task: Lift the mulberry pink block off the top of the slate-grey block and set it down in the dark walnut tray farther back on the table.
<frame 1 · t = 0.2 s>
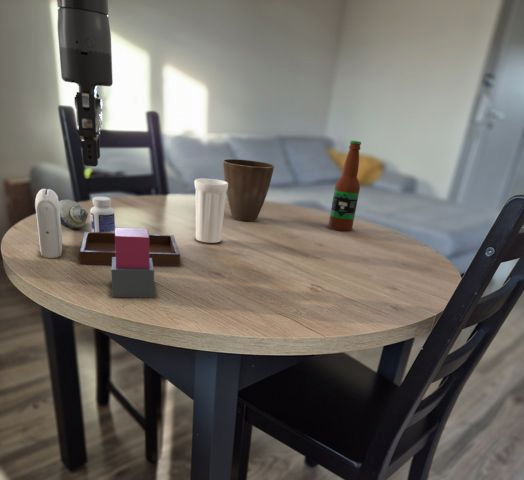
hand: (92, 161, 80), 21 cm above the table, tool pointing down, fingers open, 8 cm apart
bottle: (339, 229, 149), on the table
seashell: (70, 227, 119), on the table
grey block: (132, 290, 87), on the table, touching pink block
pink block: (132, 263, 84), point 5 cm above the table, touching grey block
cup: (208, 241, 121), on the table
tray: (130, 254, 105), on the table
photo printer: (52, 251, 101), on the table
pill bottle: (103, 237, 114), on the table
flower pot: (243, 219, 147), on the table
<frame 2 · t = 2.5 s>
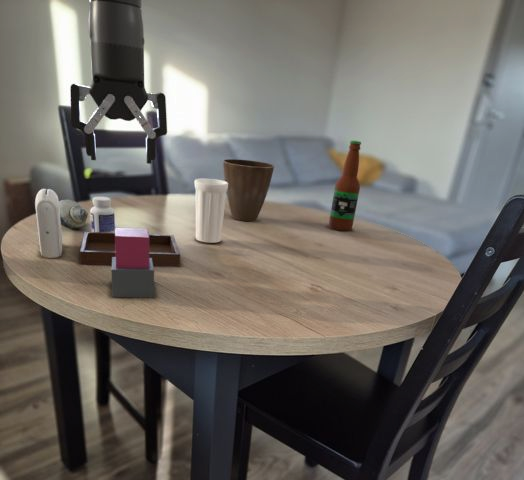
hand: (121, 161, 77), 22 cm above the table, tool pointing down, fingers open, 8 cm apart
nothing on the table moved.
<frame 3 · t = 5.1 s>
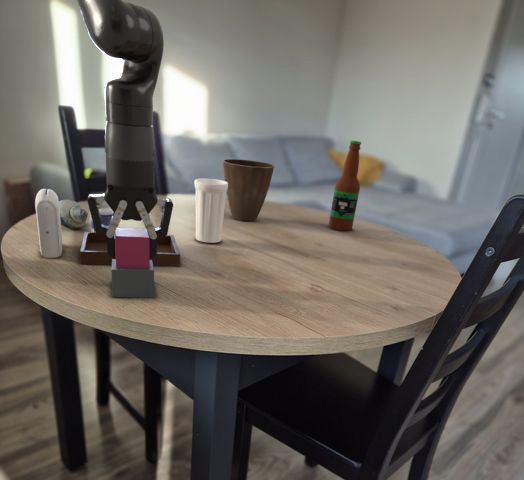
hand: (132, 257, 84), 6 cm above the table, tool pointing down, fingers closed on pink block, 5 cm apart
pink block: (132, 263, 84), point 5 cm above the table, touching grey block, gripper
everything else where it was.
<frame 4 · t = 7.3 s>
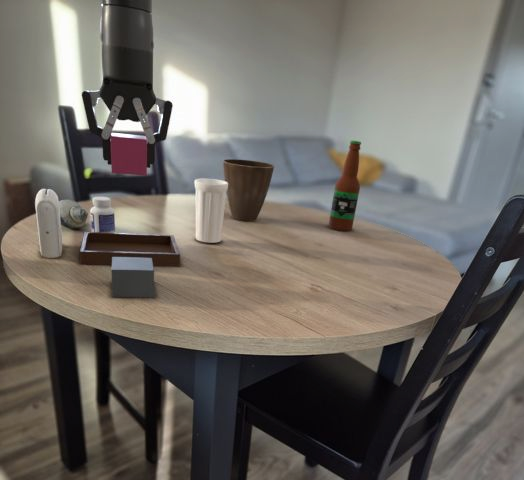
hand: (129, 165, 80), 21 cm above the table, tool pointing down, fingers closed on pink block, 5 cm apart
grey block: (132, 290, 87), on the table
pink block: (129, 171, 80), point 20 cm above the table, touching gripper
everything else where it was.
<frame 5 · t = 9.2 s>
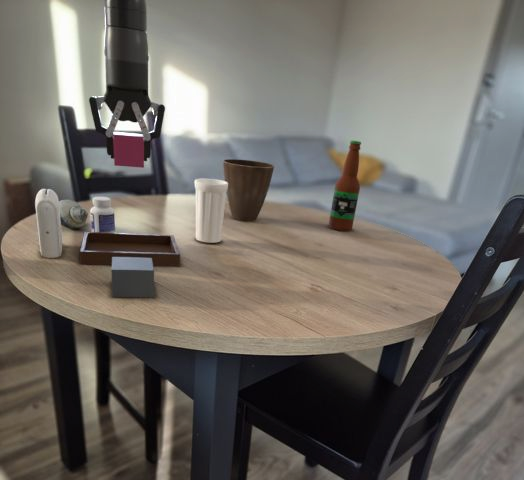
hand: (128, 159, 94), 20 cm above the table, tool pointing down, fingers closed on pink block, 5 cm apart
pink block: (129, 164, 95), point 19 cm above the table, touching gripper
everything else where it was.
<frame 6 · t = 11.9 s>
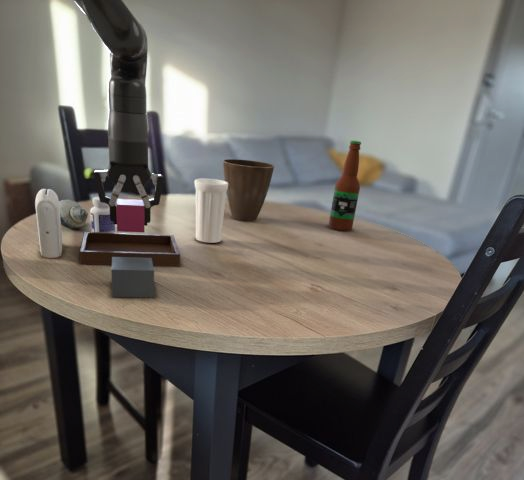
hand: (130, 223, 102), 7 cm above the table, tool pointing down, fingers closed on pink block, 5 cm apart
pink block: (130, 228, 102), point 6 cm above the table, touching gripper
everything else where it was.
when the fingers open (2 cm above the table, at t = 13.7 s): pink block stays where it is, resting on tray.
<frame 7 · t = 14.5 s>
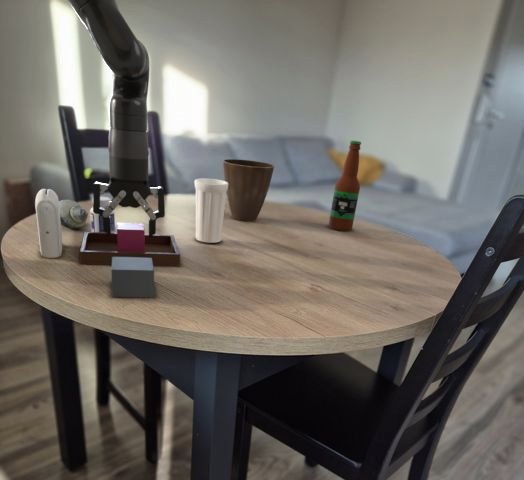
hand: (129, 235, 102), 4 cm above the table, tool pointing down, fingers open, 8 cm apart
pink block: (131, 251, 104), point 1 cm above the table, touching tray
everything else where it was.
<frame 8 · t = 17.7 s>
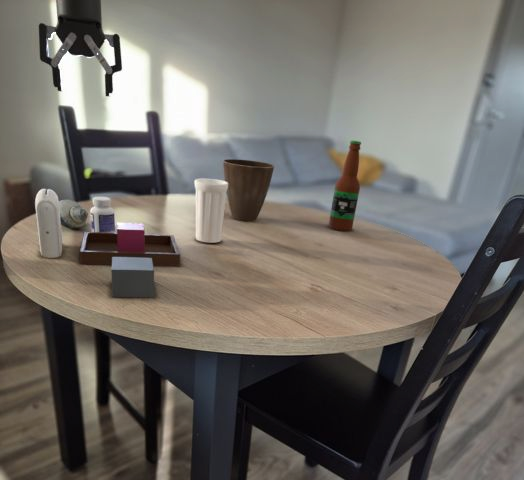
hand: (84, 93, 92), 30 cm above the table, tool pointing down, fingers open, 8 cm apart
nothing on the table moved.
at the end: pink block inside the target area in the tray (0.1 cm from its centre), point 0.6 cm above the tray's base; pink block touching tray; grey block moved 0.0 cm from its start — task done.
